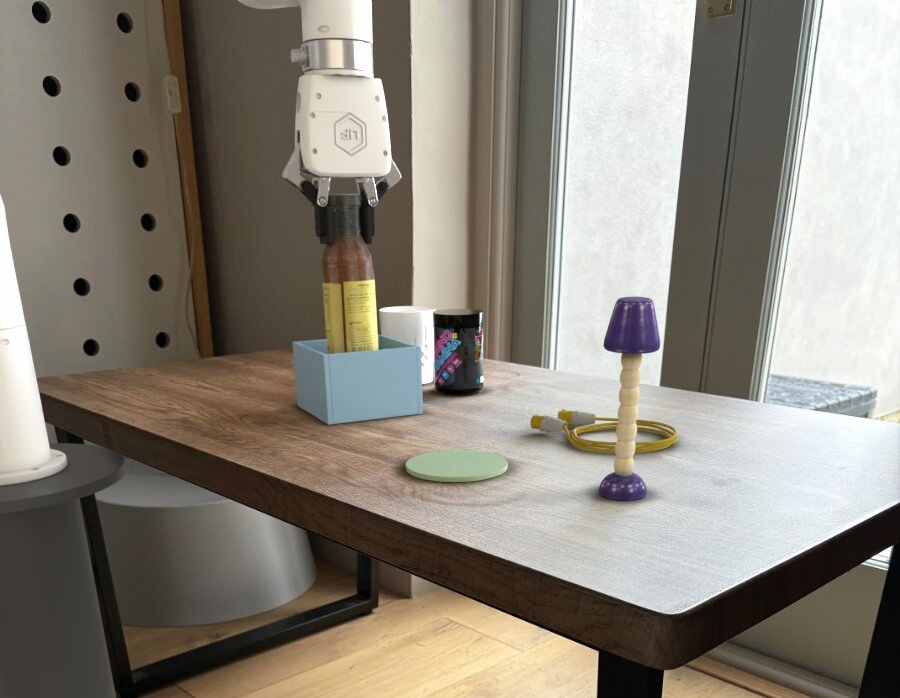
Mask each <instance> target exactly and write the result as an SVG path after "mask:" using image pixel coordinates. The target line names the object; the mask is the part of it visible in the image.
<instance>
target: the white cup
mask: <svg viewBox="0 0 900 698" xmlns="http://www.w3.org/2000/svg"><path fill="white" fill-rule="evenodd" d="M433 311H436V308H435V307H433V306H425V305H400V306H388V307H382V308H380V309H378V318H379V330H380V335H385V336H389V337H392V338H395V339H398V340H401V341H404V342H407V343H410V344H414V345H417V346H420V347H421V366H422V385H428V384H430V383H432V382H433V380H434V342H433Z"/></svg>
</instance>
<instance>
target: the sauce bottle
mask: <svg viewBox="0 0 900 698" xmlns="http://www.w3.org/2000/svg"><path fill="white" fill-rule="evenodd" d="M328 201H329V207H331V208H332V210H333V232H334V243H332V245H326V244H325V247H324V249H323V251H322V253H321V271H322V282H321V283H322V295H323V297H322V298H323V309H324V321H325V336H326V338H325V339H327V353H328V354H336V353H348V352H359V351H370V350H379V349H378V335H379V334H378V333H379V332H378V319H377V318H378V315H377V299H376V298H377V297H376V280H375V273H374V266H373V265H374V264H373V259H372V258H373V257H372V255H371V252H370V251H369V250H370V249H368V246H367V244H365V242H364V239H363V237H362V234H361V233H362V230H361V224H360V208H361V198H360V194H358V193H331V194H330V193H329V195H328Z"/></svg>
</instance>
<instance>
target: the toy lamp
mask: <svg viewBox="0 0 900 698" xmlns="http://www.w3.org/2000/svg"><path fill="white" fill-rule="evenodd" d="M605 332H606V333H605V336H604V340H603V349H604V350H606V351H608V352H611V353H615V354H621V356H620V364H621V367H622V369H621V371H620V374H619V383H620V385H621V387H620V389H619V393H618V401H619V404H620V405H619V406H618V409H617V418H618V420H619V421H618V422H619V423H618V425H616V426H617V429H615V434H616V438H617V440H616V445H614V446H615V453H614V454H615V456H616V457H615V459H614V462H613V470H614V471H613V472H610V473H608V474H607V475H605V476H604V478H603V479H602V480H601V482H600V484H599V487H598V494H599V495H601V497H603V498H606V499H610V500H617V501H635V500H641V499H643V498H645V497H647V495H648V491H647V490H648V489H647V485H646V482H645V481H644V479H643V478H642V477H641V476H640V475H639V474H637V473H635V472H634V471H633V470H634V467H635V460H634V455H635V454H636V452H635V442H636V441H635V439H636V437H637V434H638V430H637V427H638V426H637V425H636V423H637V422H636V420H638V418H639V414H640V413H639V411H640V410H639V406H638V403H639V401H640V397H641V392H640V388H639V385H640V383H641V380H642V372H641V368H640V367H641V366H642V363H643V354H652V353H656V352H658V351H659V350H660V349H661V337H660V331H659V325H658V318H657V313H656V308H655V302H654V300H653V299H651V297H645V296H624V297H619V298H618V299H616V301H615V303H614V307H613V309H612V313H611V316H610V319H609V323H608V326H607V329H606V331H605ZM635 422H636V423H635Z"/></svg>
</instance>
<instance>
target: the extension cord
mask: <svg viewBox="0 0 900 698" xmlns="http://www.w3.org/2000/svg"><path fill="white" fill-rule="evenodd" d="M596 421H599V422H601V421H602V422H603V421H604V422H603V423H596ZM618 423H619V420H618V417H617V418H616V417H596V413H592V412H587V411H581V410H566V409H561V410H558V412H557V417H555V416H552V415H546V414H545V415H540V414H534V415H532V416H531V417H530V429H532V430H539V431H540V432H544V433H564V432H565V435H566V437H567V439H568V441H569V443H570V444H571V445H573V446H574V447H576V448H578V449H582V450H585V451H592V452H597V453H610V454H611V453H612V454H613V453H614V454H616V453H615V445H616V442H617V441H616V442H615V441H601V440H600V441H599V440H591V439H585V438H581V437H579V436H578V435H580V434H583V433H590V432H597V431H604V430H616V429H617V425H618ZM635 423H636V425H637V431H643V432H644V431H645V432H652V433H656V434H660V435H664V436H665V437H666V438H665V439H659V440H651V441H635V453H646V452H647V453H648V452H656V451H660V450H664V449H667V448H668V447H670V446H671V445H673V444H675V443H676V442H677V441H678V439H679V438H678V437H679V436H678V435H679V433H678V432H679V431H678V429H676V428H675V427H674V426H672V425H670V424H667V423H664V422H659V421H654V420H645V419H637V420H636V422H635ZM568 427H574V428H573V429H572V432H571V434H570V432H569V429H568Z"/></svg>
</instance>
